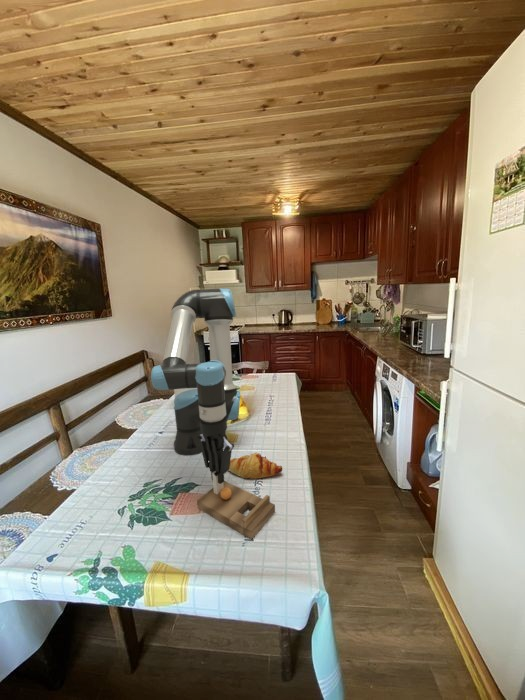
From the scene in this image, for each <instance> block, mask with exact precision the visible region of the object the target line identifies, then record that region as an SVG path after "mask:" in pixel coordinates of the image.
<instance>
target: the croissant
mask: <svg viewBox="0 0 525 700" xmlns="http://www.w3.org/2000/svg"><path fill="white" fill-rule="evenodd" d="M229 471H230V472H231V473H232V474H235V475H236V476H238V477H241V478H243V479H252V480H255V479H257V480H258V479H261V478H267V477H274V476H277V475H278V474H280V473H281V472H283V466H282V465H277V463H275V462H274V461H271V460H269V459H268V458H267V457H266V456H262V455H261V454H260V453H258V452H254V453H251V454H246V455H241V456H239V457H237V458H232V459H231V460H230V467H229Z"/></svg>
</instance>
